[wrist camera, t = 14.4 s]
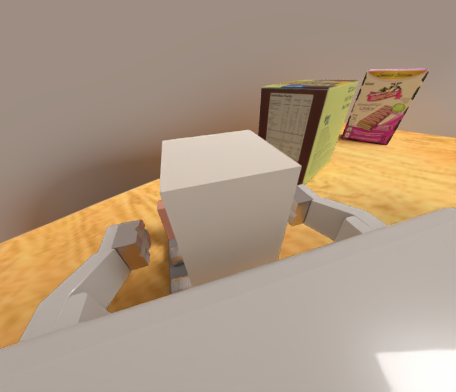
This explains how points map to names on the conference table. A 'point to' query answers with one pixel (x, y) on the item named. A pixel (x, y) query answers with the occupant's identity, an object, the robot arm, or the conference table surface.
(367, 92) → the candy bar box
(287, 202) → the wooden block
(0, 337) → the conference table surface
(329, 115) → the protein box
